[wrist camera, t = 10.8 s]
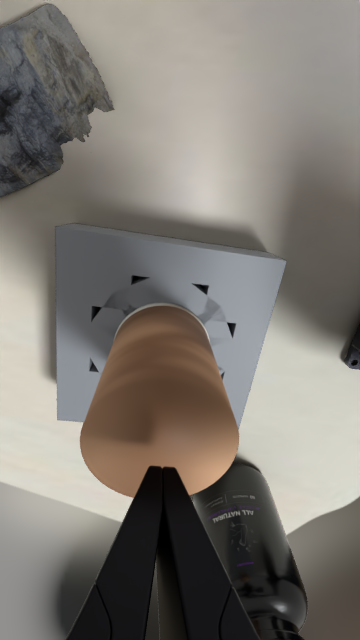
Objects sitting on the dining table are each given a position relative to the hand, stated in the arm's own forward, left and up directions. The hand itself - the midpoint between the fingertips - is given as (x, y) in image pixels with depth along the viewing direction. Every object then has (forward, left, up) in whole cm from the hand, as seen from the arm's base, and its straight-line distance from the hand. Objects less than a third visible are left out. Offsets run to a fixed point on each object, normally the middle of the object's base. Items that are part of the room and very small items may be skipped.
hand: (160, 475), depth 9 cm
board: (0, 0, -12) cm, 12 cm away
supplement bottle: (-8, +15, -12) cm, 21 cm away
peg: (0, 0, -11) cm, 11 cm away
